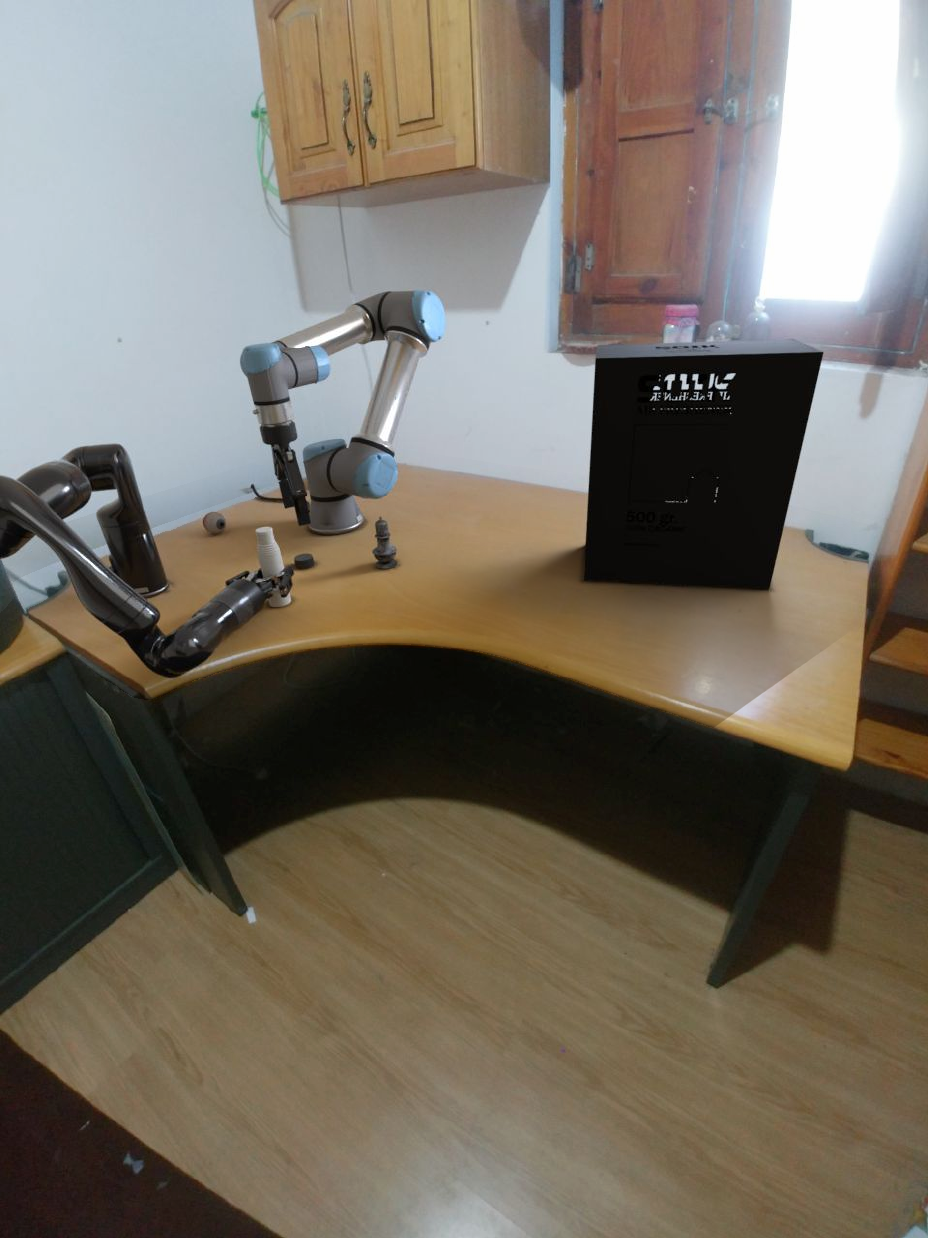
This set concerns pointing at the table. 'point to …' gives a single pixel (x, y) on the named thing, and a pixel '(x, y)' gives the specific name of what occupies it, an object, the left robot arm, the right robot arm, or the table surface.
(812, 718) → the table surface
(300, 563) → the cap
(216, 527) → the eyeball
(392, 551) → the grey tall turned piece
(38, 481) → the left robot arm
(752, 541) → the cardboard box
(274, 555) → the bottle
